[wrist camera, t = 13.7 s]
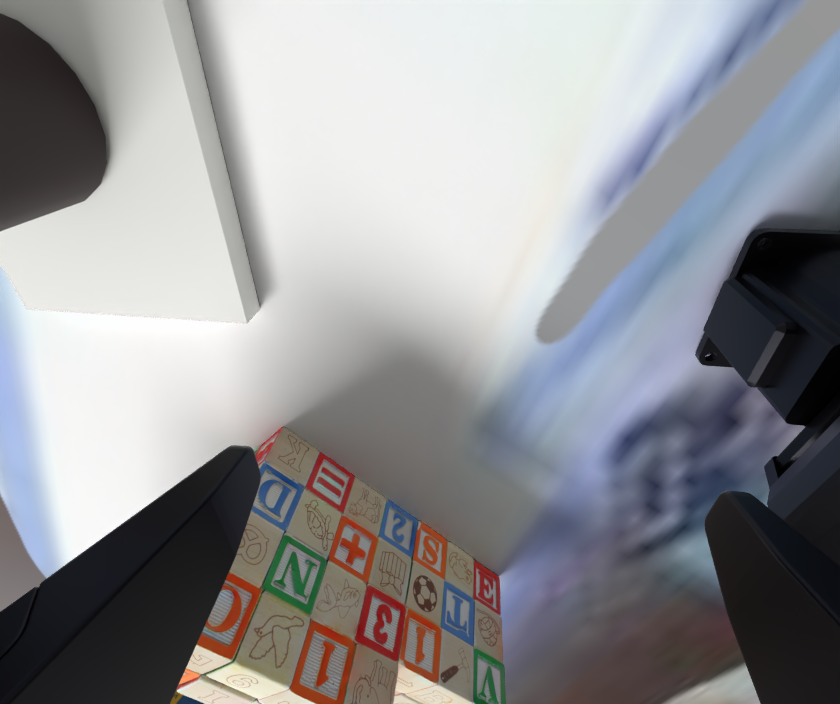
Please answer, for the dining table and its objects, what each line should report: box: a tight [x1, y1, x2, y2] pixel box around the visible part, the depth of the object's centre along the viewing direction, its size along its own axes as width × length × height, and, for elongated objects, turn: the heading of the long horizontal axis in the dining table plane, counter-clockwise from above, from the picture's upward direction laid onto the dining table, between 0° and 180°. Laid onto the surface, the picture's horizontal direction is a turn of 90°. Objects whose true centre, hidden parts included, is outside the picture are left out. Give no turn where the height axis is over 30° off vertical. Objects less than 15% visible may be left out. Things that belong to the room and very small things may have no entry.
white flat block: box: [0, 0, 260, 324], centre depth 18 cm, size 12×16×2 cm
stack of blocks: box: [177, 427, 506, 704], centre depth 27 cm, size 21×6×12 cm, turn 46°
